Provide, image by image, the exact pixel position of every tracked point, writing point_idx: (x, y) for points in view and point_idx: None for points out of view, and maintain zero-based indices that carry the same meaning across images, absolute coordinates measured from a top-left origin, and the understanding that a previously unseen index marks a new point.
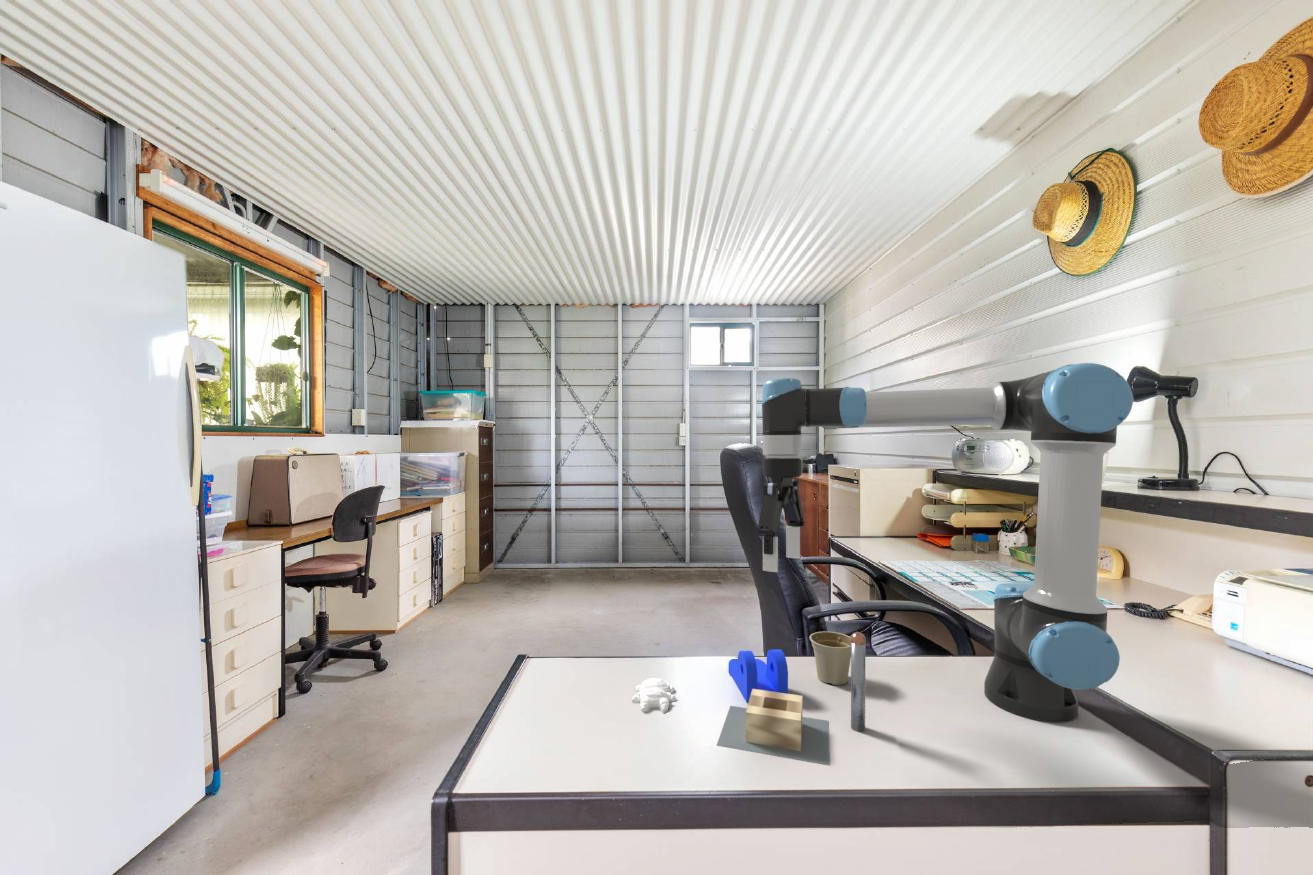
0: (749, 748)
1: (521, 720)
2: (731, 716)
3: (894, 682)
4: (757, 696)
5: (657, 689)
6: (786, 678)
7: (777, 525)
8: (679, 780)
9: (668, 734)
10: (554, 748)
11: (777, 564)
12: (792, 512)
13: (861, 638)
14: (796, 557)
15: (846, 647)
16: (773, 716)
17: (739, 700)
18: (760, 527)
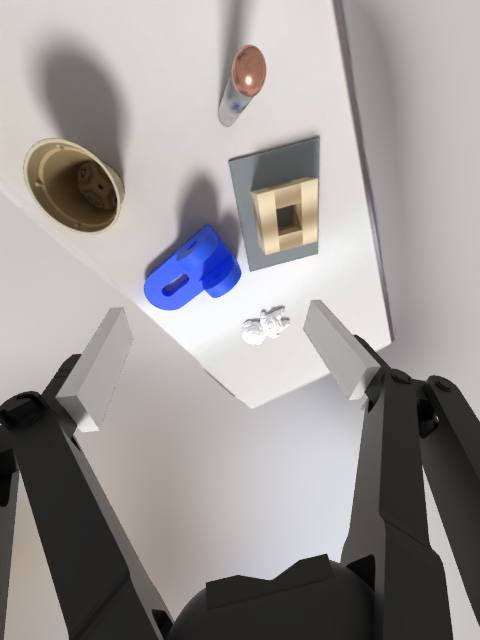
0: None
1: (324, 365)
2: (269, 262)
3: (13, 61)
4: (280, 243)
5: (274, 327)
6: (210, 231)
7: (390, 407)
8: (364, 257)
9: (311, 291)
10: None
11: (322, 310)
12: (97, 495)
13: (263, 56)
14: (124, 315)
15: (92, 153)
16: (317, 211)
17: None
18: (437, 420)
